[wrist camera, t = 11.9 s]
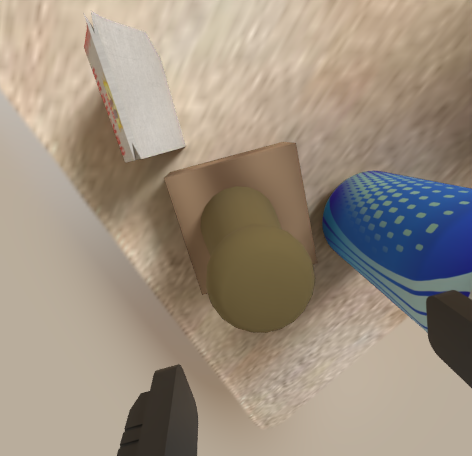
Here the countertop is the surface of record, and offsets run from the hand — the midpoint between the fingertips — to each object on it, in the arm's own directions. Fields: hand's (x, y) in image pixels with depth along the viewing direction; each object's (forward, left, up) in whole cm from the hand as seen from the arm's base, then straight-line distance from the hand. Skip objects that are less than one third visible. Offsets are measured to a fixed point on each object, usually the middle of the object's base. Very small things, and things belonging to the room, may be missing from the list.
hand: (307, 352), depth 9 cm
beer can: (-11, +3, -19) cm, 22 cm away
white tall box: (+5, -10, -19) cm, 22 cm away
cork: (+1, 0, -15) cm, 15 cm away
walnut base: (0, 0, -19) cm, 19 cm away
